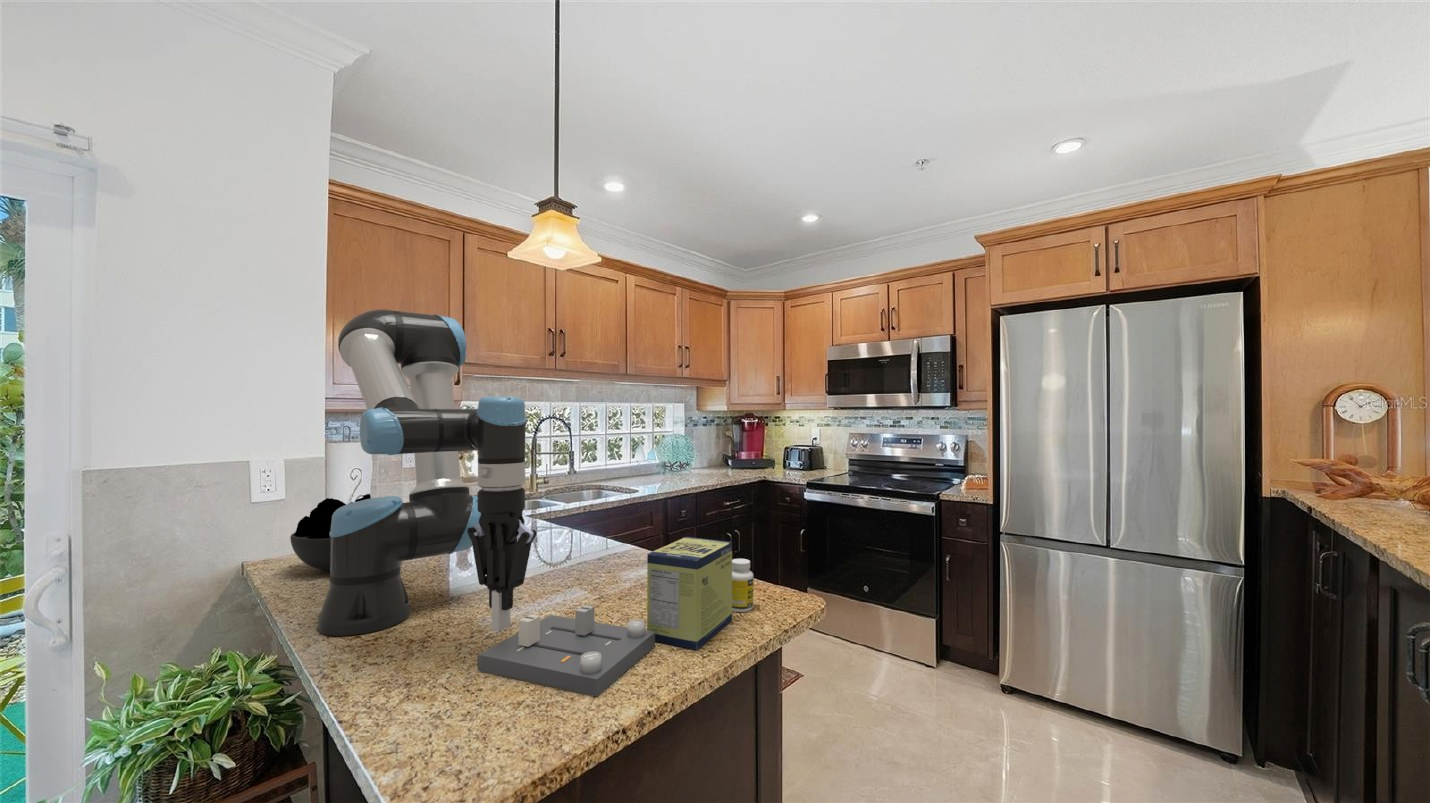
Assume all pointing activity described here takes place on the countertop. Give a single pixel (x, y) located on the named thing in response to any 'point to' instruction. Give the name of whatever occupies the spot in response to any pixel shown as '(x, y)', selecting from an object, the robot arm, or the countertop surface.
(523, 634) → the fader cream
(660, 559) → the protein box
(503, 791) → the countertop surface
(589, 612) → the fader grey
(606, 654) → the console
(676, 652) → the countertop surface
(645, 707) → the countertop surface
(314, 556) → the coal bowl
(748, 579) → the supplement bottle
